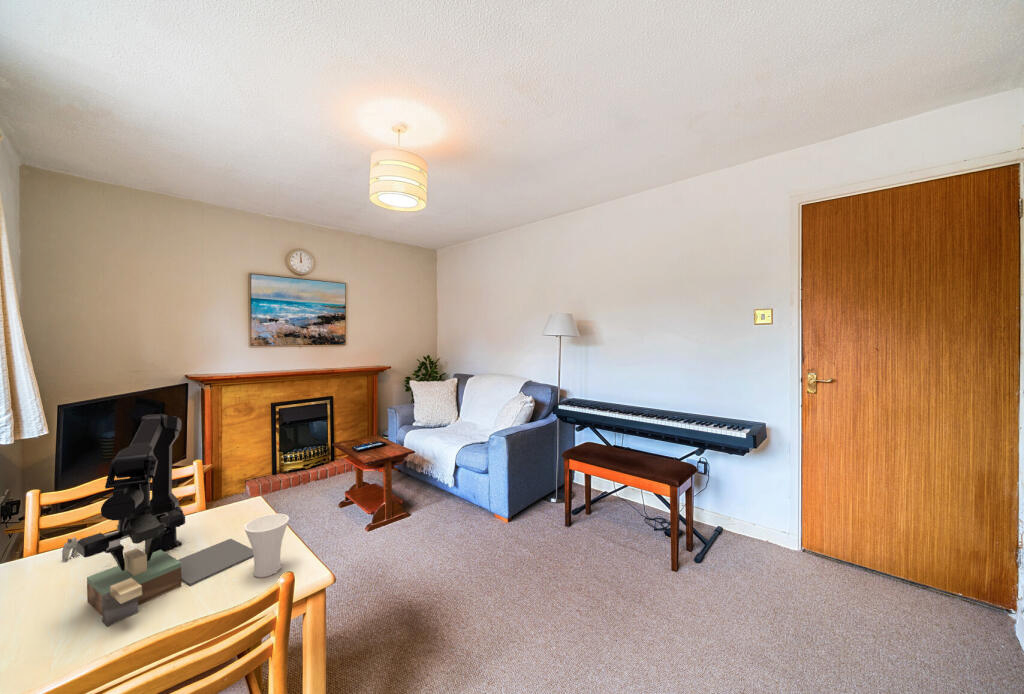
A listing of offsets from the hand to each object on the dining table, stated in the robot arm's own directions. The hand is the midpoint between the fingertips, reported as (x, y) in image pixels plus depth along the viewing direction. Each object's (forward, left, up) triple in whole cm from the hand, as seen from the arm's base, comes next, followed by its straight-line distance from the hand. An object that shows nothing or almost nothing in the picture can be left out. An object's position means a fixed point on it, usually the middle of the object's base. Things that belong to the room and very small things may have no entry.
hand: (135, 565), depth 97 cm
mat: (0, +17, -7) cm, 18 cm away
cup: (+18, +22, -8) cm, 29 cm away
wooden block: (+11, -5, -1) cm, 12 cm away
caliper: (-39, +5, -8) cm, 40 cm away
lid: (0, 0, -2) cm, 2 cm away
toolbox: (+2, 0, -7) cm, 7 cm away
